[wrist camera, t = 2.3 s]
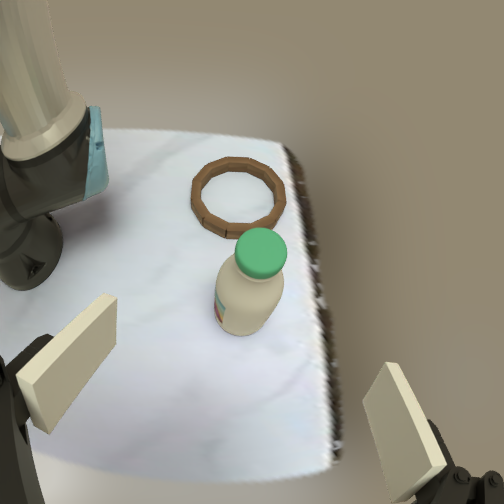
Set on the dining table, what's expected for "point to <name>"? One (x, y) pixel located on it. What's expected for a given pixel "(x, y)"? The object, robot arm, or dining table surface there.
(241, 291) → the milk bottle
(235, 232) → the walnut ring
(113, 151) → the dining table surface
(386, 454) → the robot arm
